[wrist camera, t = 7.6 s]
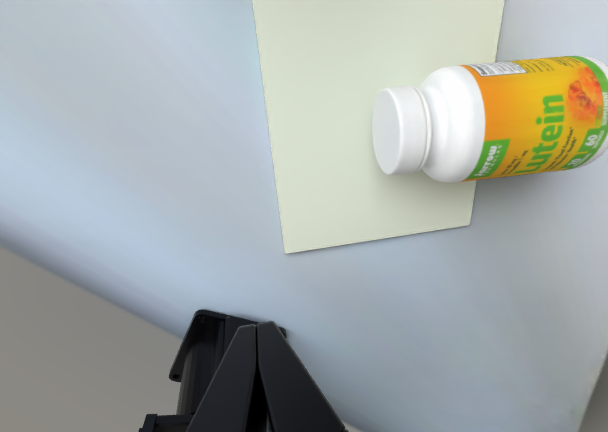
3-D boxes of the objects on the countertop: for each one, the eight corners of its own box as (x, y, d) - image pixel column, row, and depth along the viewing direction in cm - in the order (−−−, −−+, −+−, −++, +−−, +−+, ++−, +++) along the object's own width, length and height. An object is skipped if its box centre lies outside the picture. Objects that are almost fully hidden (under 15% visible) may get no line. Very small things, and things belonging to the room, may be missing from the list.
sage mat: (503, -34, 18) (509, -35, 17) (465, 221, 25) (469, 225, 24) (250, -12, 17) (251, -12, 16) (284, 249, 24) (284, 253, 23)
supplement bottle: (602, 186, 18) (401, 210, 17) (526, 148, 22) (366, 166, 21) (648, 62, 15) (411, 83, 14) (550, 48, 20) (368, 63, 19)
